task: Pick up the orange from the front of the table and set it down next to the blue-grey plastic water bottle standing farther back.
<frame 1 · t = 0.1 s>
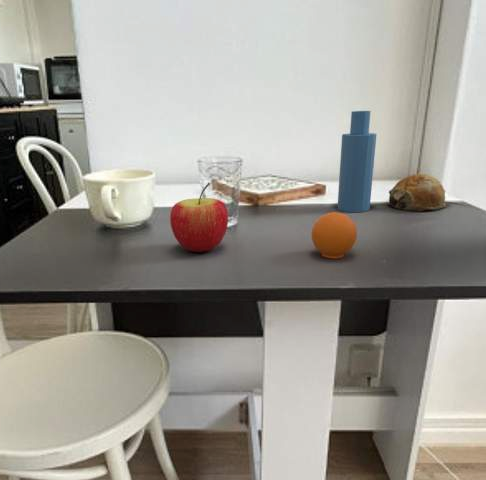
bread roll: (415, 207, 86), on the table
orange: (332, 255, 61), on the table
bottle: (353, 208, 86), on the table
apple: (200, 250, 66), on the table
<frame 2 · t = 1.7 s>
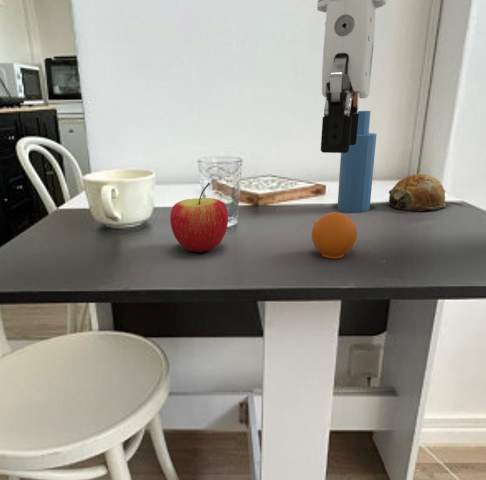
hand: (339, 148, 56), 14 cm above the table, tool pointing down, fingers open, 9 cm apart
nothing on the table moved.
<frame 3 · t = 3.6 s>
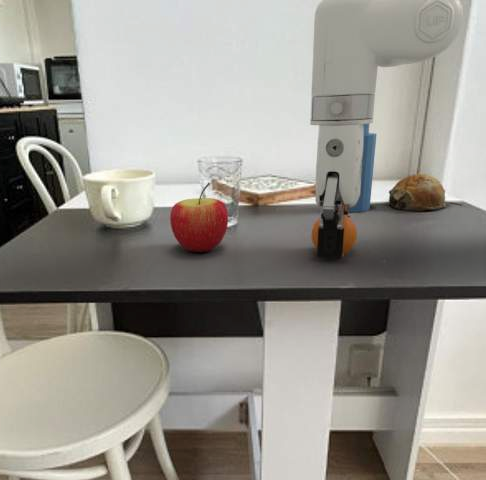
hand: (332, 248, 61), 1 cm above the table, tool pointing down, fingers closed on orange, 6 cm apart
orange: (332, 255, 61), on the table, touching gripper
everything else where it was.
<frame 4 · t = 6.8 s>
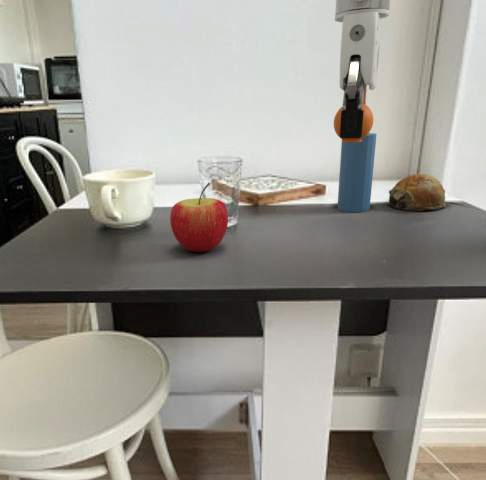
hand: (352, 135, 70), 15 cm above the table, tool pointing down, fingers closed on orange, 6 cm apart
orange: (351, 141, 70), point 14 cm above the table, touching gripper
everything else where it was.
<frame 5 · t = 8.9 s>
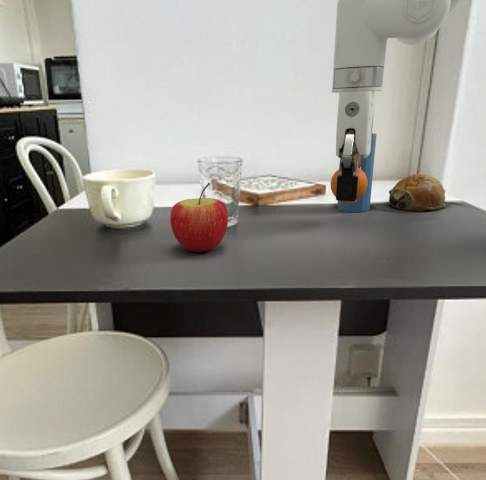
hand: (348, 195, 75), 5 cm above the table, tool pointing down, fingers closed on orange, 6 cm apart
orange: (347, 201, 75), point 4 cm above the table, touching gripper
everything else where it was.
when the fingers open (1 cm above the table, at t = 10.4 s): orange stays where it is, on the table.
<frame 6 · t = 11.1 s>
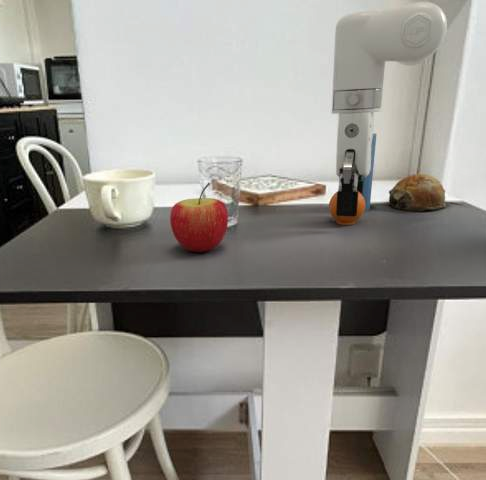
hand: (349, 209, 76), 2 cm above the table, tool pointing down, fingers open, 9 cm apart
orange: (345, 222, 77), on the table
everything else where it was.
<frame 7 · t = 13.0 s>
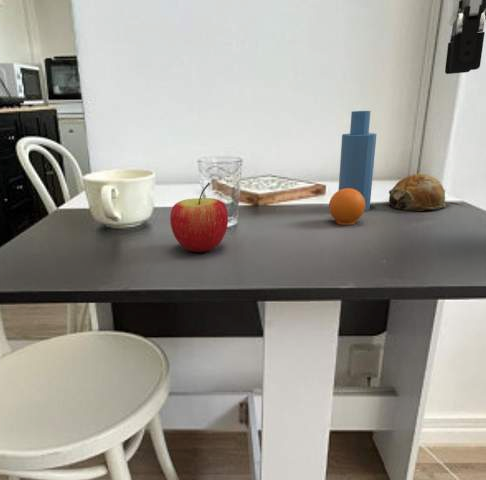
hand: (460, 71, 58), 23 cm above the table, tool pointing down, fingers open, 9 cm apart
nothing on the table moved.
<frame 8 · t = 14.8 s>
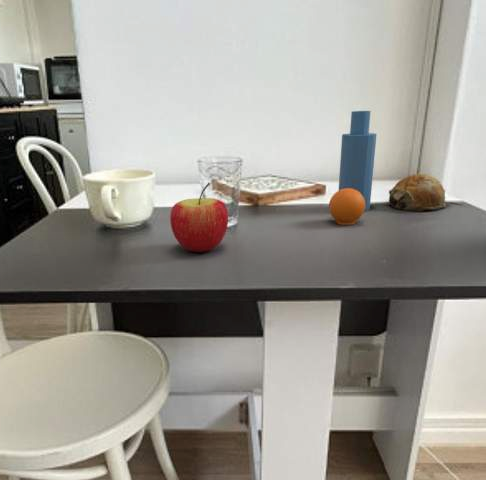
nothing on the table moved.
at the end: orange 11.0 cm from the bottle (horizontally); orange on the table; the gripper is holding nothing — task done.
